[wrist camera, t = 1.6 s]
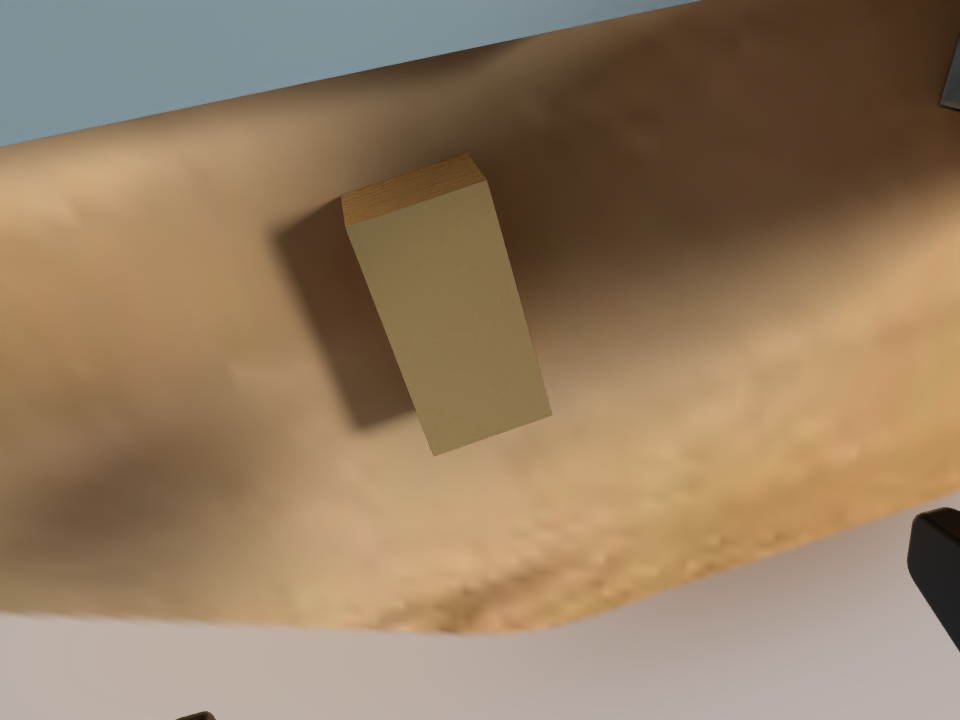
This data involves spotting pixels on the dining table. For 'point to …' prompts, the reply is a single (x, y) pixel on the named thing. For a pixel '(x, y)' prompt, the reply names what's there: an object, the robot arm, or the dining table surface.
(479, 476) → the dining table surface
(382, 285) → the tan wooden post
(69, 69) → the blue-grey hollow frame
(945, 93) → the juice carton
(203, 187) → the dining table surface
